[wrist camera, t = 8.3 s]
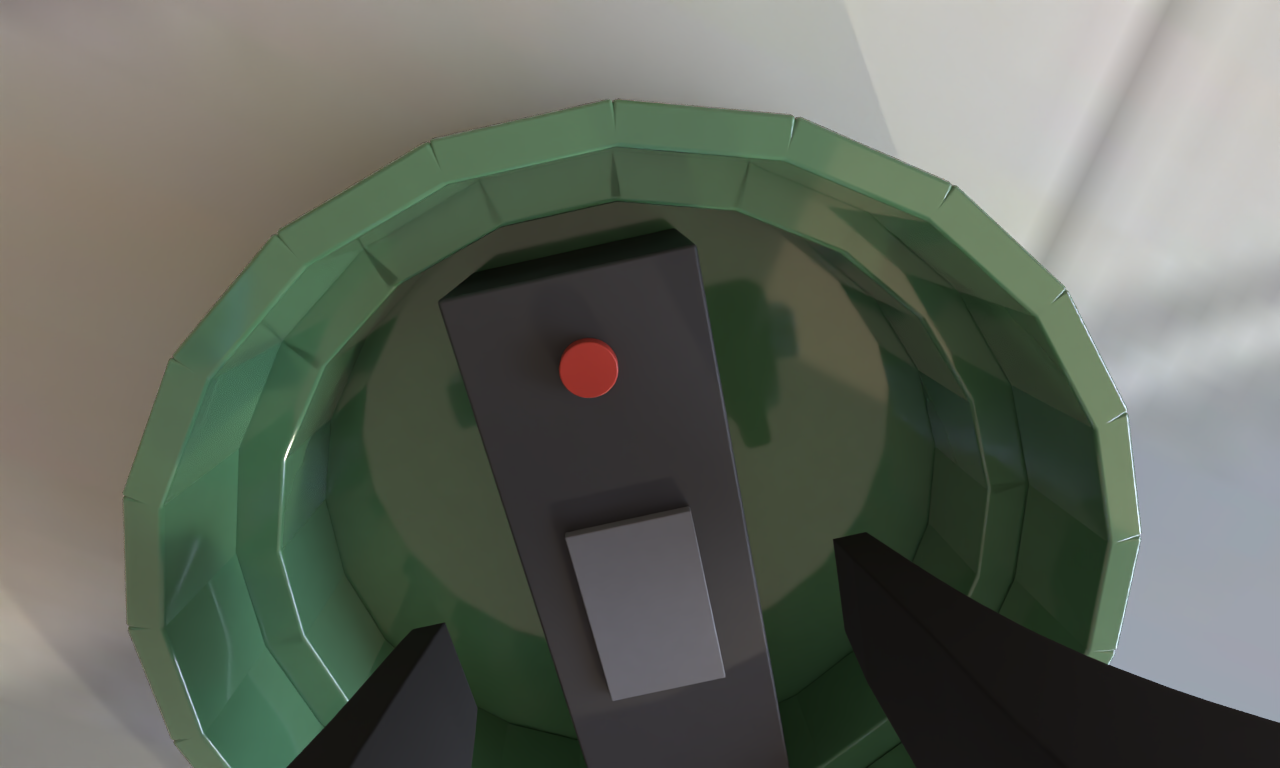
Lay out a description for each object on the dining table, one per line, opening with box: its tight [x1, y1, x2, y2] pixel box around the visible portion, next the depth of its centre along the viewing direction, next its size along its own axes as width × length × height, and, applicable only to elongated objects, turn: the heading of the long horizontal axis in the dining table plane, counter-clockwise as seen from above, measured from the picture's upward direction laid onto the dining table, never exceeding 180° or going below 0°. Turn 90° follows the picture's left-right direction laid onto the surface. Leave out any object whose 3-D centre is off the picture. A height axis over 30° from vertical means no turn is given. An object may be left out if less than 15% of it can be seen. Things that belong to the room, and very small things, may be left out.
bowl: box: [123, 99, 1142, 768], centre depth 13 cm, size 17×17×5 cm
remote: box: [438, 228, 790, 768], centre depth 14 cm, size 12×4×3 cm, turn 12°
